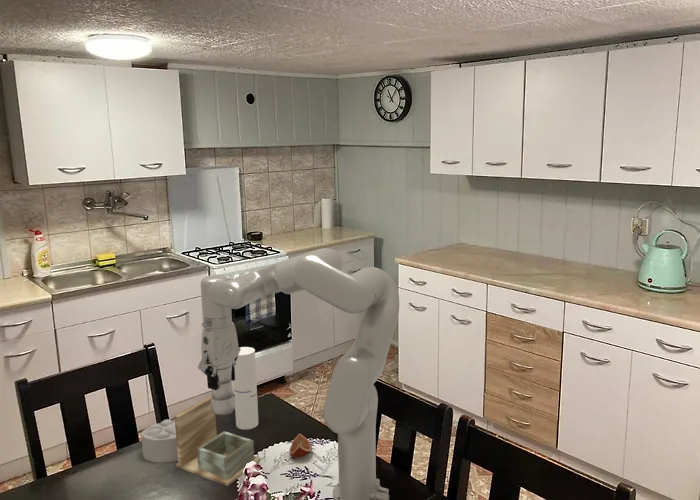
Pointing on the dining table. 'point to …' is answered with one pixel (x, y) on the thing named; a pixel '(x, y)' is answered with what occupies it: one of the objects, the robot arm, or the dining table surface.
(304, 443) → the fruit slice
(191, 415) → the wall caddy
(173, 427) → the lumpy-topped squat cylinder
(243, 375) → the cylindrical container
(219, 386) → the plastic bottle
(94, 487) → the dining table surface
